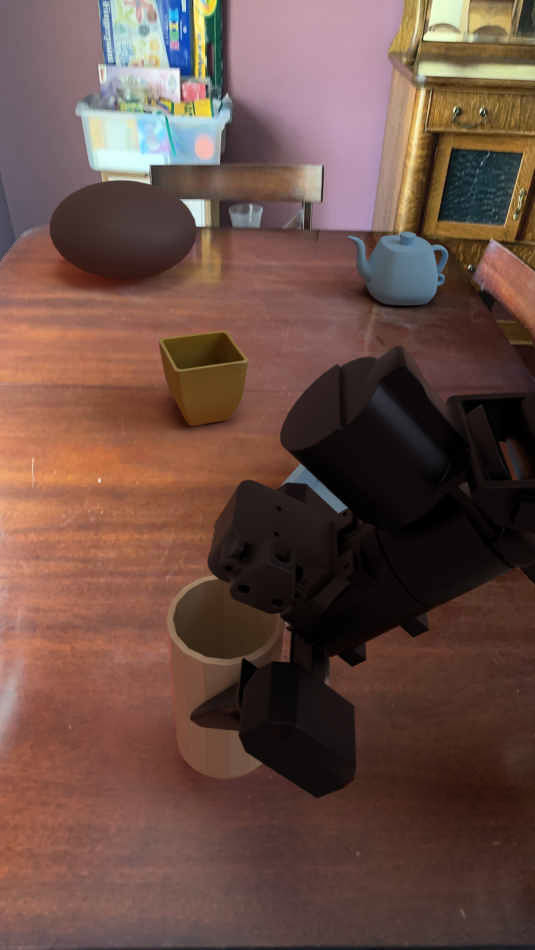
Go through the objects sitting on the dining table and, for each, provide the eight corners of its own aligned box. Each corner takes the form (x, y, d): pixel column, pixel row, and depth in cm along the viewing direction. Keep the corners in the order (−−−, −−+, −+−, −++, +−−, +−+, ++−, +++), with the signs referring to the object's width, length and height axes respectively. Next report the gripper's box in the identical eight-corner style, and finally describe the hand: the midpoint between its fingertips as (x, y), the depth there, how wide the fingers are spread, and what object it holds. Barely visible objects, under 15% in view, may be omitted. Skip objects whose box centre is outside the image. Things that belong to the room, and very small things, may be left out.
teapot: (340, 221, 115) (441, 221, 118) (334, 281, 122) (430, 281, 124) (356, 246, 105) (467, 246, 108) (349, 310, 112) (453, 309, 114)
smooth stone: (46, 255, 126) (32, 169, 117) (175, 243, 134) (172, 162, 125) (69, 306, 108) (55, 211, 99) (216, 289, 117) (216, 199, 108)
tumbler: (291, 715, 48) (303, 599, 40) (244, 797, 43) (248, 683, 36) (210, 675, 50) (207, 559, 43) (156, 748, 45) (143, 632, 38)
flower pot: (161, 401, 87) (157, 337, 81) (225, 391, 89) (226, 328, 84) (178, 438, 80) (175, 371, 75) (247, 426, 83) (249, 361, 77)
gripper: (312, 369, 40) (140, 500, 47) (302, 612, 25) (53, 749, 32) (423, 485, 44) (251, 587, 51) (470, 748, 29) (219, 842, 36)
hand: (204, 670), depth 43 cm, fingers closed on tumbler, 7 cm apart
